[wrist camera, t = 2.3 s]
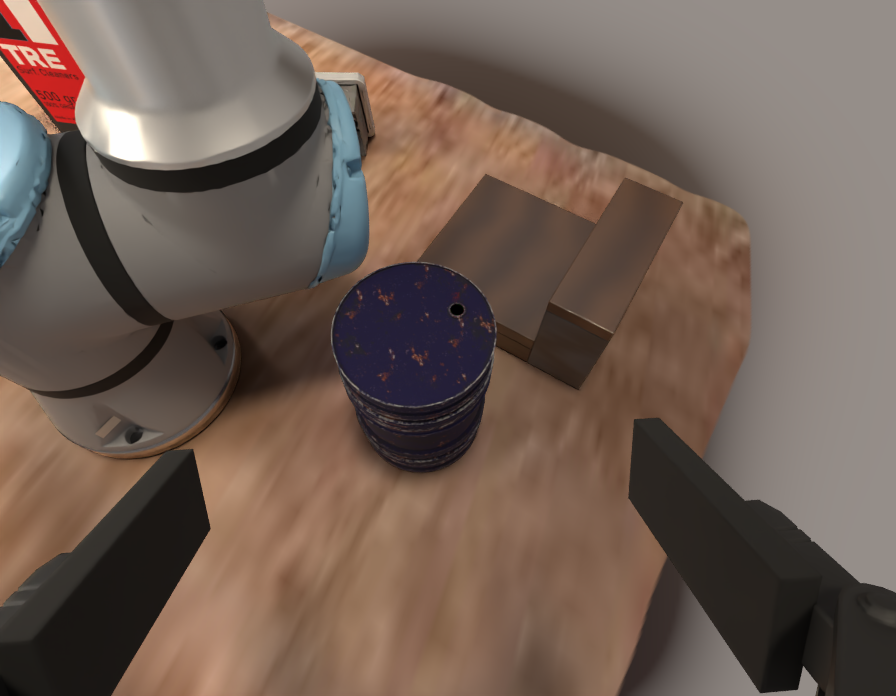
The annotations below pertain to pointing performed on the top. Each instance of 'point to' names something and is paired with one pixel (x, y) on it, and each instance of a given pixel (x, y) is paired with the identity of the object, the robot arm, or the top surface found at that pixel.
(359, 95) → the electrical switch
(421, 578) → the top surface
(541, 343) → the l-shaped metal base
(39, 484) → the top surface
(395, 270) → the blue oil drum
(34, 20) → the cleaning product box
